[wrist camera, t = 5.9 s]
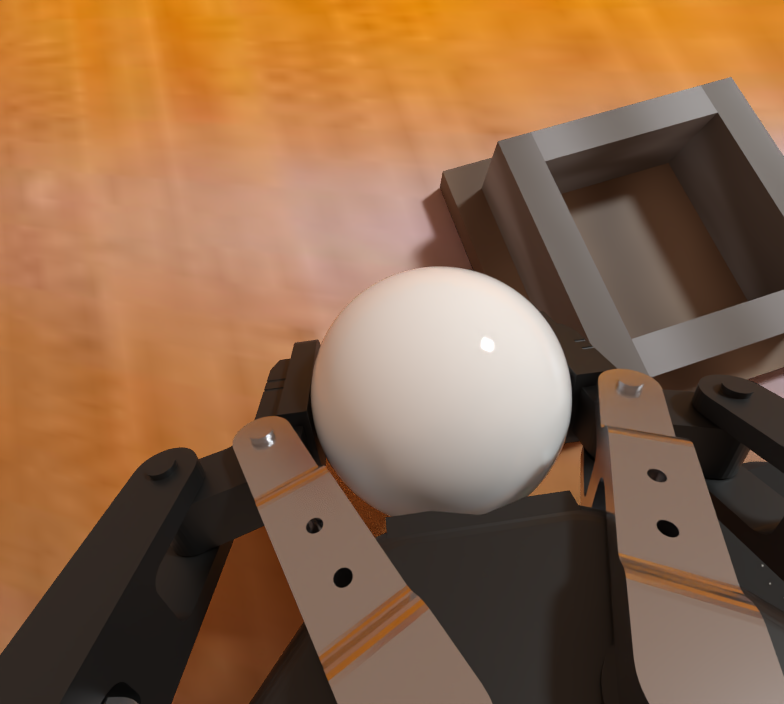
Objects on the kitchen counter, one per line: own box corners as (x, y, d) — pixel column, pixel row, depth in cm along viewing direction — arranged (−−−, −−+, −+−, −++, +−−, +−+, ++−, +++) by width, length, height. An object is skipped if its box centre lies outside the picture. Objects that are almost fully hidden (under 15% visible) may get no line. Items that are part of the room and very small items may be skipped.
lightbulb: (353, 495, 17) (283, 587, 6) (342, 354, 18) (272, 225, 7) (496, 480, 17) (680, 542, 6) (474, 341, 18) (591, 196, 8)
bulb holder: (676, 120, 21) (744, 43, 17) (815, 352, 18) (938, 325, 14) (439, 187, 20) (451, 122, 16) (543, 444, 17) (591, 445, 13)
